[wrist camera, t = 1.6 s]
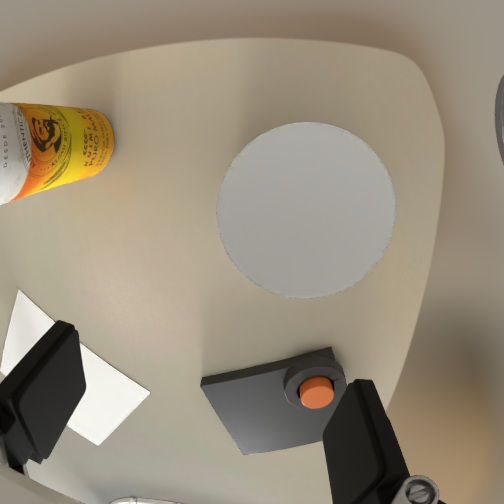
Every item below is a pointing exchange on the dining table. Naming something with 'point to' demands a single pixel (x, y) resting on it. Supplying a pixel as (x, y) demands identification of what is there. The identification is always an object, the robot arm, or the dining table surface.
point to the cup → (306, 210)
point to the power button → (316, 392)
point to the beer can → (49, 147)
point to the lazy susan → (140, 501)
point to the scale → (274, 402)
